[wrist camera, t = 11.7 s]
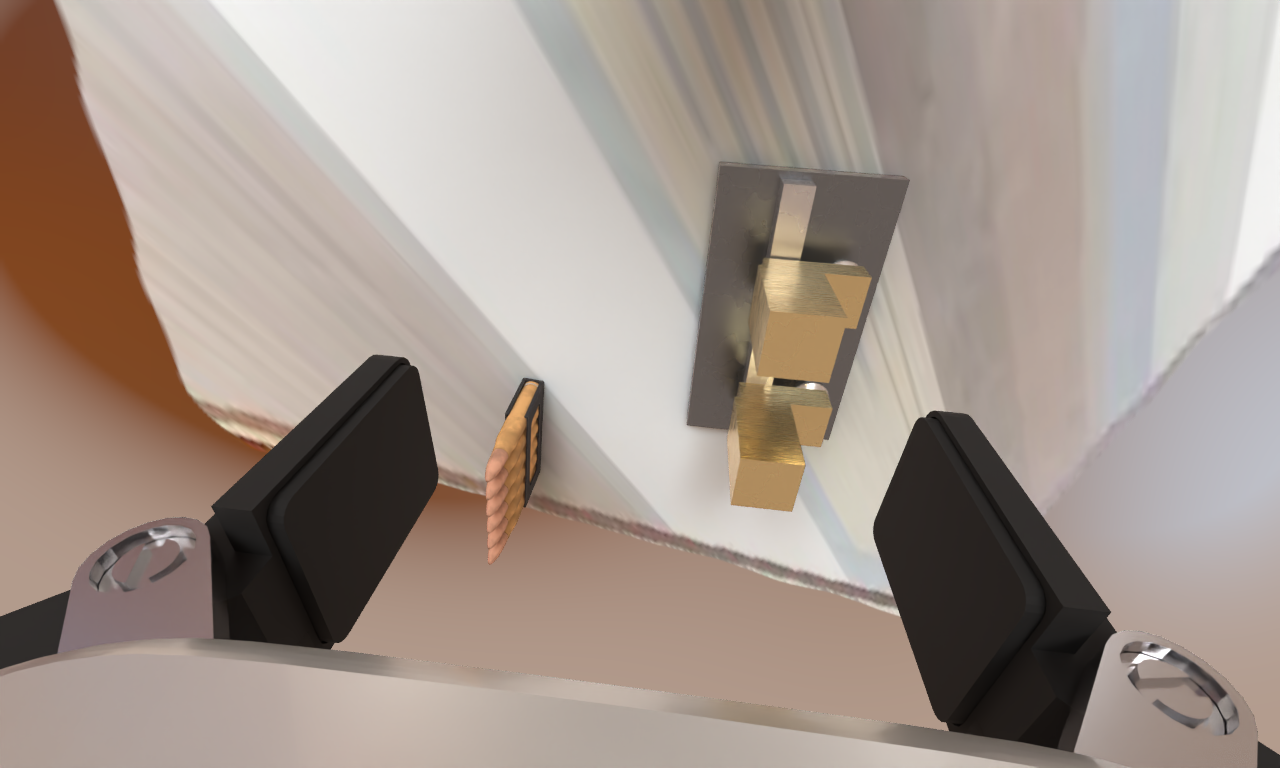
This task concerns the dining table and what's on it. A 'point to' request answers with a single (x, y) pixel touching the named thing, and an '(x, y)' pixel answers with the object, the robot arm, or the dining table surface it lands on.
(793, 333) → the block
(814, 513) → the dining table surface
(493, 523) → the ammunition clip
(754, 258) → the hole plate
